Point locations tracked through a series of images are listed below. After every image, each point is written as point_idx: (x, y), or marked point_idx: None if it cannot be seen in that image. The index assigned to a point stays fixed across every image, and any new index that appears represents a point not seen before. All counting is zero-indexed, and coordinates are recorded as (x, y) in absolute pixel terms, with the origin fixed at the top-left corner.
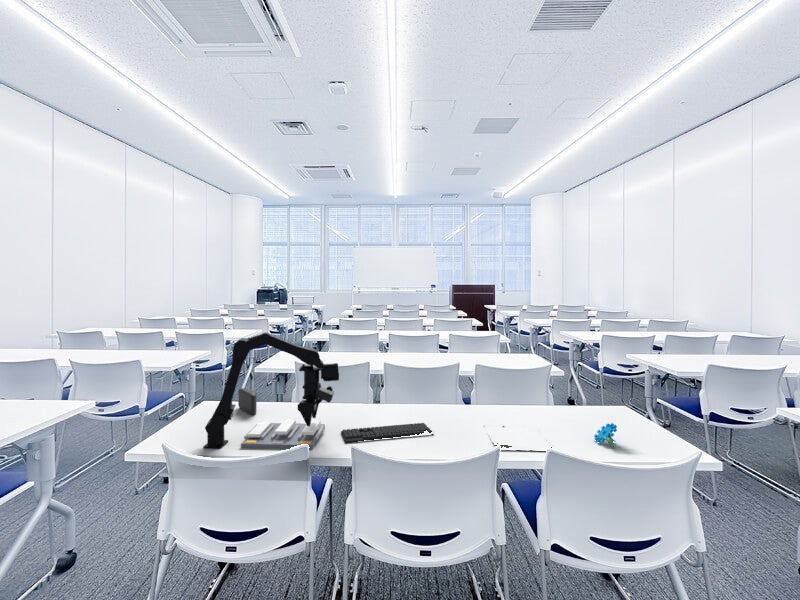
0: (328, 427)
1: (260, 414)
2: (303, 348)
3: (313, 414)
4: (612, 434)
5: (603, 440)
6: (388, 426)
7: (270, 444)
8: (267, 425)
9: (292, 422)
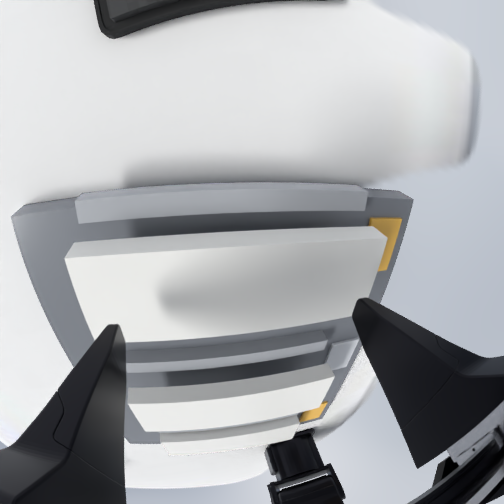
0: (14, 181)
1: None
2: None
3: (121, 369)
4: None
5: None
6: None
7: (351, 365)
8: (200, 441)
9: (180, 406)
